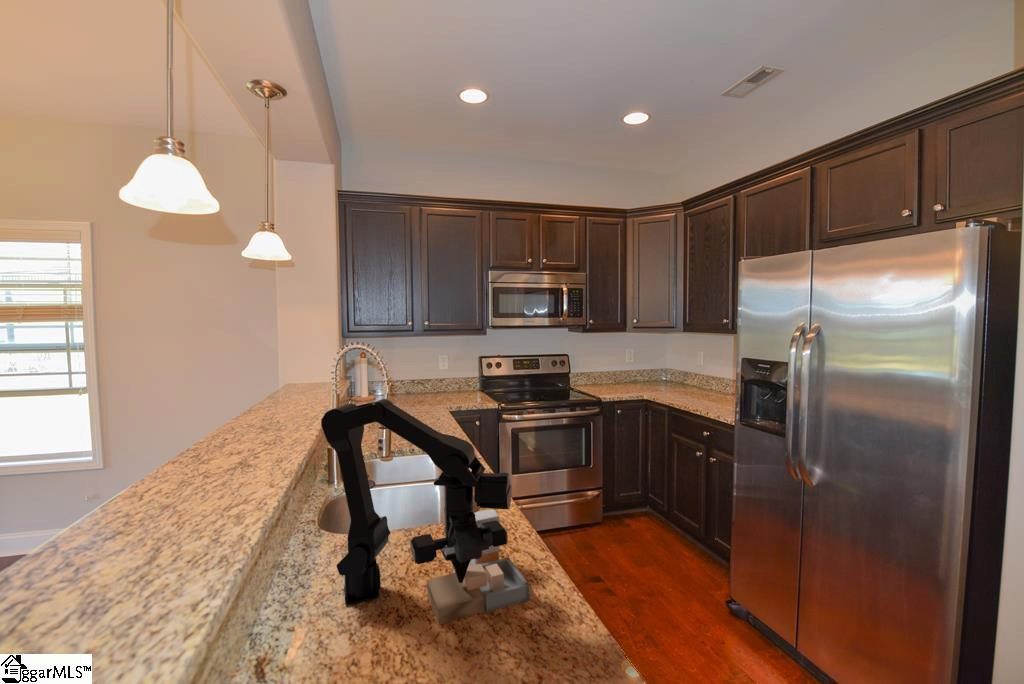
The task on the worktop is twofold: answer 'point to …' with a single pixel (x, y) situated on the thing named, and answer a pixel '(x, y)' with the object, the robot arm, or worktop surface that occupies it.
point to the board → (453, 598)
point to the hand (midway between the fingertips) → (460, 581)
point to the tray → (506, 587)
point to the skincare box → (493, 551)
